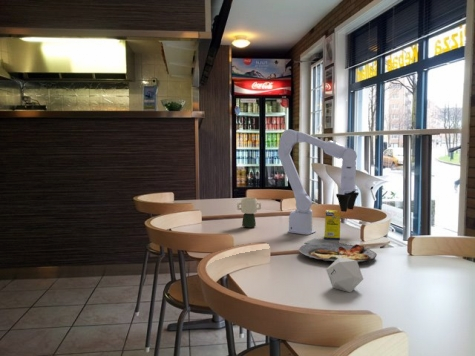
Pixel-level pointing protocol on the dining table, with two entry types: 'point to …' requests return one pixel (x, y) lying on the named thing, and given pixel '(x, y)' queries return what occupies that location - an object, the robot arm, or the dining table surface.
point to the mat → (320, 241)
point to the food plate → (337, 252)
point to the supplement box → (332, 224)
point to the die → (344, 274)
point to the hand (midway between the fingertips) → (347, 210)
